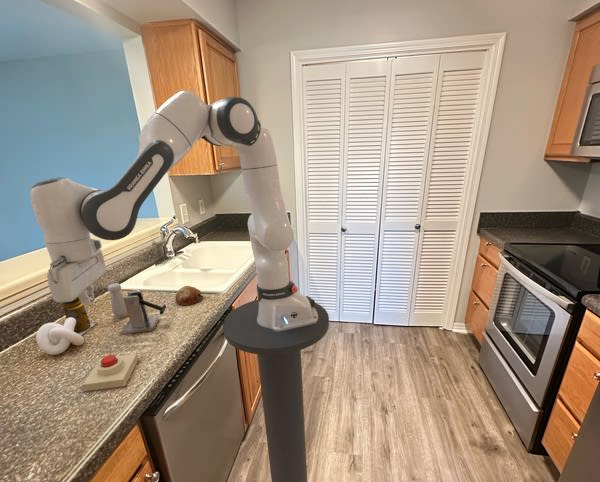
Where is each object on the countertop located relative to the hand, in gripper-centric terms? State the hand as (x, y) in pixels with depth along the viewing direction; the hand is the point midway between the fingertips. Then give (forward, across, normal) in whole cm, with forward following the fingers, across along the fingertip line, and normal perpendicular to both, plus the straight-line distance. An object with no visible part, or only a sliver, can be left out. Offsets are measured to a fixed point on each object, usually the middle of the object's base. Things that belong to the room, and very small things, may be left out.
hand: (89, 303), depth 82 cm
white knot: (+23, +18, +20) cm, 35 cm away
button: (+19, 0, 0) cm, 19 cm away
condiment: (+23, +30, +22) cm, 43 cm away
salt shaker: (+22, +38, +10) cm, 45 cm away
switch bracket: (+22, +27, 0) cm, 35 cm away
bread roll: (+22, +46, -14) cm, 53 cm away
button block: (+22, 0, 0) cm, 22 cm away
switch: (+15, +27, -4) cm, 31 cm away
